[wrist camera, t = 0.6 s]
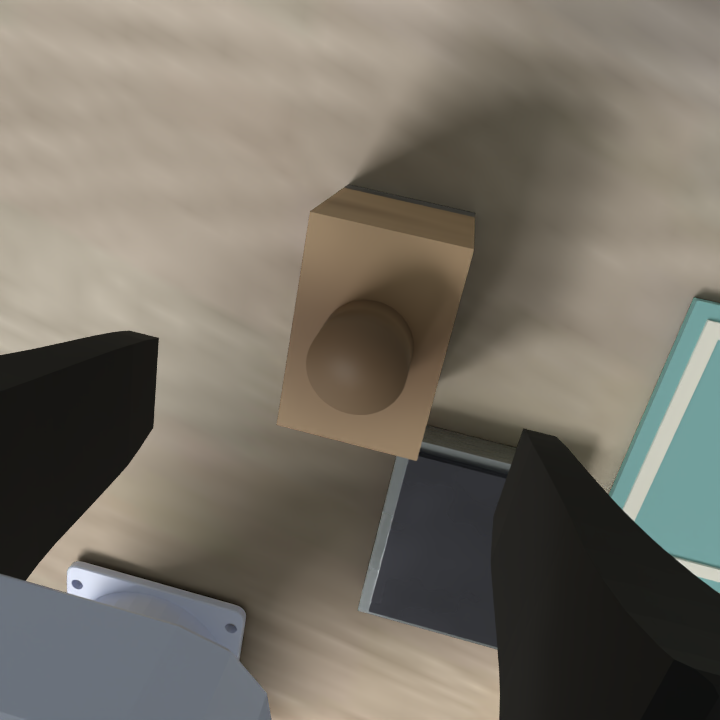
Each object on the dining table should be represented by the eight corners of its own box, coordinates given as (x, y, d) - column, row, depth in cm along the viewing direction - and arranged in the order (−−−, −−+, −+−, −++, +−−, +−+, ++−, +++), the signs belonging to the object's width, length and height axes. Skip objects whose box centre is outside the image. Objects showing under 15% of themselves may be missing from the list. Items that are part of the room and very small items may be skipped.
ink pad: (508, 629, 25) (510, 659, 24) (362, 588, 26) (356, 616, 24) (574, 462, 22) (580, 487, 21) (405, 419, 22) (400, 441, 21)
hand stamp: (429, 384, 22) (411, 494, 16) (317, 356, 22) (258, 454, 16) (475, 212, 19) (473, 266, 13) (348, 183, 20) (292, 224, 14)
